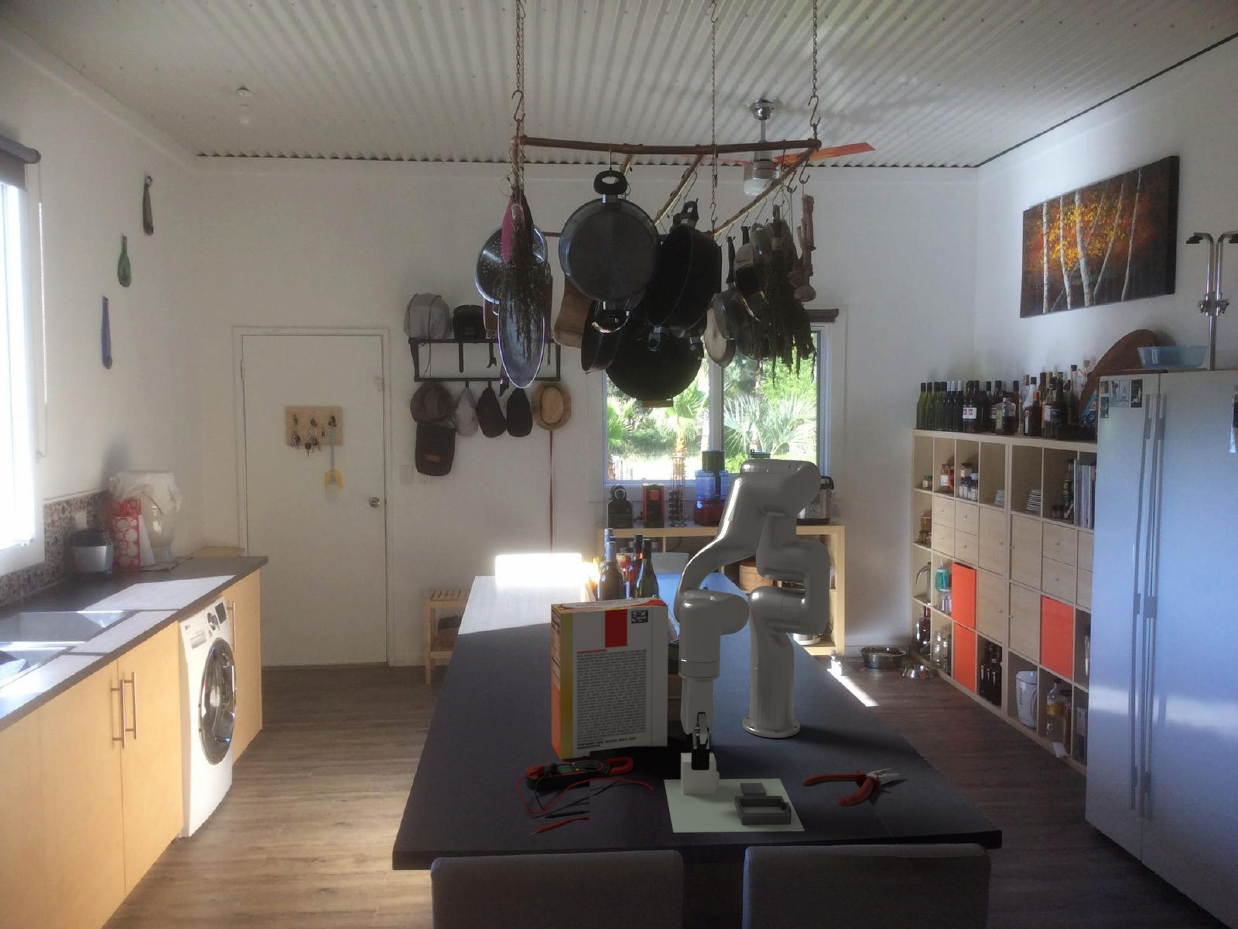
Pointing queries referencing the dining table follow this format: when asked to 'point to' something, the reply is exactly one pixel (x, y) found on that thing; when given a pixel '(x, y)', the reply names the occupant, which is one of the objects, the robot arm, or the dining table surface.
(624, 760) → the digital clamp meter
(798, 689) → the dining table surface
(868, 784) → the pliers
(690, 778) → the plug
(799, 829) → the board
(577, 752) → the cereal box
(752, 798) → the frame
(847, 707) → the dining table surface
